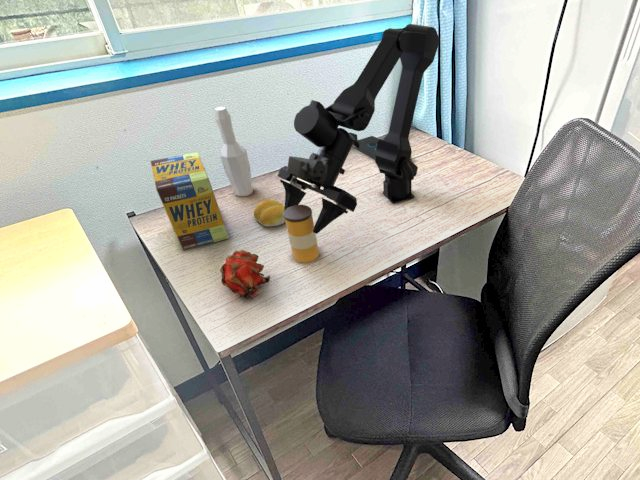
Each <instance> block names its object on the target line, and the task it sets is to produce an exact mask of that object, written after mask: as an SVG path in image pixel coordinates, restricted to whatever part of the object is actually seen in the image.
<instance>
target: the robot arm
mask: <svg viewBox="0 0 640 480" xmlns="http://www.w3.org/2000/svg"><path fill="white" fill-rule="evenodd" d="M439 45H440V36H439V35H438V31H437V29H436V28H435V27H434V26H428V25H420V24H415V23H408V24H406V26H405V27H403V28H391V27H389V28H386V29H384V31H383V33H382V35H381V39H380V41H379V44H378V45H377V46H376V48H375V49H374V52H373V53H372V55H371V56H370V58H369V60H368V62H367V63H366V64H365V66H364V68H363V69H362V71H361V73H360V74H359V76H358V78H357V79H356V81H354V83H353V84H351V85H350V86H348V87H347V88H345V89H343V90H342V91H341V92H340V94H339V95H338V96H336V98H335V100H334V101H333V103H331V104H329V106H327V107H325V106H324V104H322V103H321V102H320V101H318V100H314V99H311V100H310V103H309V105H306V106H304V107H302V108H301V109H300V110H299V111H298V112H297V113H296V114H295V116H294V119H293V127H294V128H293V129H294V130H295V132H297V133H298V134H299V135H301V136H302V137H303V138H304V139H306V140H307V141H309V143H311V144H313V145H314V146H315V147H317V148H318V151H317V153H315V152H312V153H311V154H310V155H309V157H308V158H305V157H300V156H292V155H289V156H288V160H287V161H288V162H287V165H284V166H282V167H280V169H279V170H278V173H277V175H276V176H277V177H278V178H280V179H279V181H280V183H281V184H282V186H283V188H284V206H285V207H284V211H285V210H286V209H287V208H289V207H291V206H294V205H300V204H301V202H302V200H303V199H304V197H306V195H307V192H306V190H310V191H313V192H316V193H317V194H319V195H322V196H324V197H326V198H327V199H326V198H324V197H321V205H322V208H321V210H320V212H319V215H318V217H317V219H316V221H315V224H314V230H313V232H314V233H316V235H317V234H319V233H320V232H321V231H322V230H324V229H325V228H326V227H327V226H329V225H330V224H331V223H332V222H333V221H335V220H336V219H338V218H339V217H341V216H342V215H343V214H347V215H348V213H349V211H350V212H353V213H354V212H355V210H356V208H357V205H358V201H357V197H356V196H354V195H353V194H350V193H349V192H348V191H346V190H345V189H342V188H340V187H338V186H335V184H336V181H337V179H338V177H339V175H343V176H344V174H345V172H346V170H345V169H344V168H343V167H344V164H345V163H346V160H347V158H348V156H349V155H350V152H351V149H352V147H353V148H354V147H356V148H359V147H360V145H359V142H358V140H359V139H358V134H357V133H354V132H349V131H347V130H346V129H349V130H353V131H356V132H362V131H365V130H366V129H367V127H369V124H370V121H371V120H372V119H373V115H374V113H375V111H376V104H375V103H376V99H377V97H378V95H379V93H380V91H381V89H382V88H383V86H384V85H385V83H386V81H387V80H388V78H389V77H390V75H391V73H392V72H393V70H394V68H395V66H396V65H397V64H398V62H399V60H400V64H401V72H400V77H399V82H398V86H397V91H396V96H395V100H394V103H393V104H394V105H393V109H392V115H391V118H390V123H389V128H388V132H387V134H386V135H385V136H384V138H378V139H379V140H378V142H377V149H376V152H375V155H374V156H376V157H375V160H374V162H375V164H376V166H377V167H376V168H378V171H379V174H384V180H383V182H382V183H383V184H382V186H383V191H382V194H383V196H385V198H387V200H388V201H390V202H391V204H398V203H400V202H401V203H402V202H405V201H409V200H412V199H415V194H413V193H412V181H414V180H415V177H416V176H417V174H418V170H419V166H418V165H416V164H415V163H414V161H412V153H413V151H412V147H411V143H410V139H409V137H410V134H411V133H410V132H411V128H412V125H413V120H414V115H415V111H416V107H417V102H418V99H419V94H420V89H421V86H422V81H423V77H424V73H426V71H427V70H428V68H429V67H430V66H432V64H433V62H434V60H435V57H436V55H437V52H438V48H439ZM356 148H355V149H356Z"/></svg>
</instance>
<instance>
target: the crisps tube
mask: <svg viewBox="0 0 640 480" xmlns="http://www.w3.org/2000/svg"><path fill="white" fill-rule="evenodd" d="M283 215H284V218H285V226H286V231H287V236H288V241H289V245H290V247H291V252H292V256H293V260H294V261H296V262H298V263H303V264H304V263H305V264H306V263H311V262H313V261H315V260H316V259H317V258H318V257H319V256H320V252H319V246H318V241H317V234H316V233H314V232H313V230H314V226H315V224H314V218H313V210H312V208H311V207H310V206H308V205H305V204H299V205H294V206H291V207H289V208H287V209H286V210H285V211H284V213H283Z"/></svg>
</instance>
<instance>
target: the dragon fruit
mask: <svg viewBox="0 0 640 480" xmlns="http://www.w3.org/2000/svg"><path fill="white" fill-rule="evenodd" d="M259 257H260V256H259V255H258V254H256V253H251V252H250V251H246V250H245V249H244V250H243V249H240V250H235V251H233V252H232V255H227V257H226V258H225V262H224V264H222V265H221V267H220V268H219V272H220V275H221V280H220V281H221V284H222V286H223V287H225V288H227V289H228V290H229V291H230V292H232V293H233V294H236V295H238V296H239V297H240V298H242V299H244V300H249V298H248V297H249V296H251V298H252V297H253V298H255V297H256V296H257V295H258V294H259V293H260V290H259V288H258V287H260V286H261V285H265V284H269V282H270V280H271V276H270V275H267V276H265V275H264V274H263V273H261V272H263V270H264V268H265V265H264V264H262V263H259V262H258V260H259Z"/></svg>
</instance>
